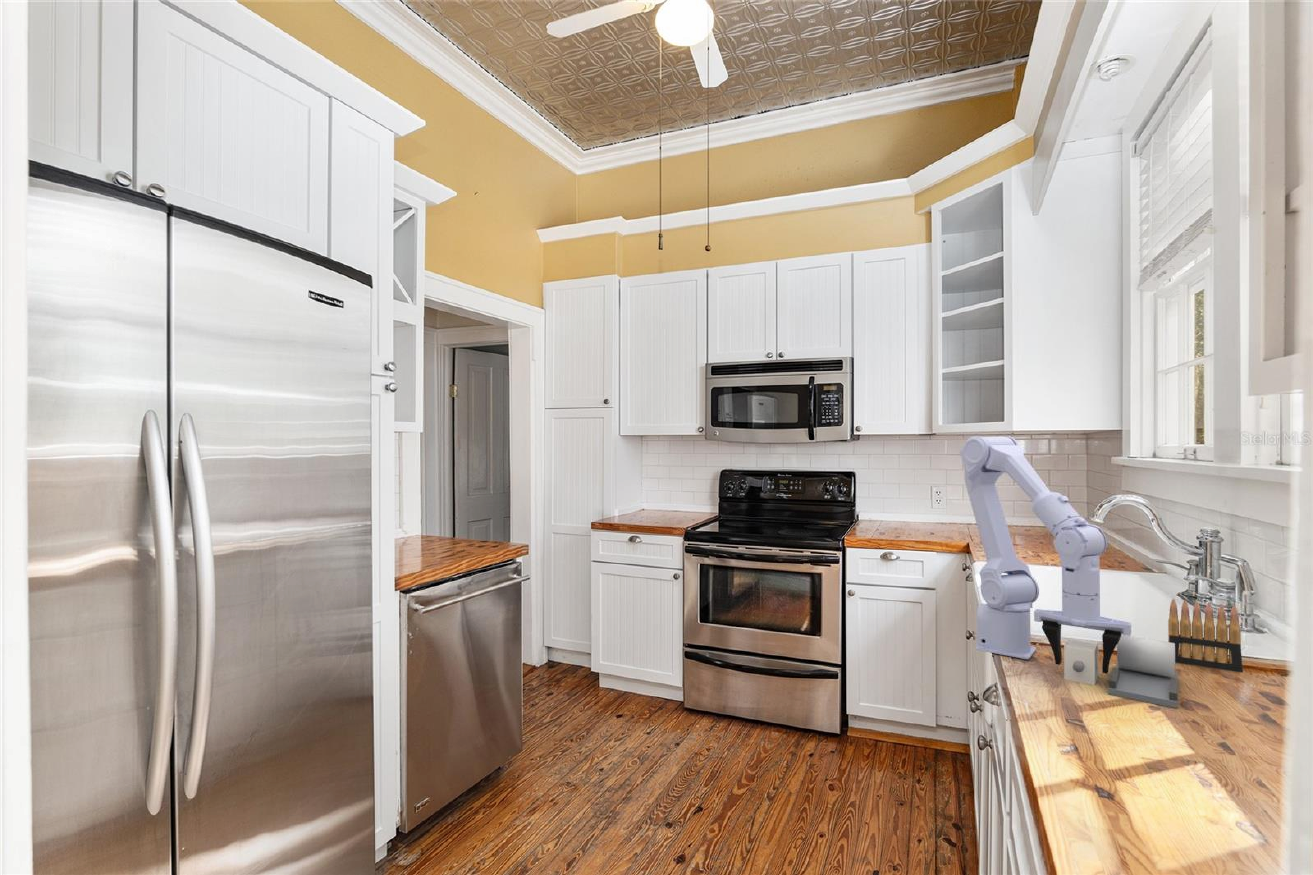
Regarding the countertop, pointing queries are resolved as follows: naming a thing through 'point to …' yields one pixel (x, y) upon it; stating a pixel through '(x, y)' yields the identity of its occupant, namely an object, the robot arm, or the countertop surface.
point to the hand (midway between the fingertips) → (1081, 667)
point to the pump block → (1081, 661)
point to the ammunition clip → (1205, 638)
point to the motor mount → (1145, 671)
